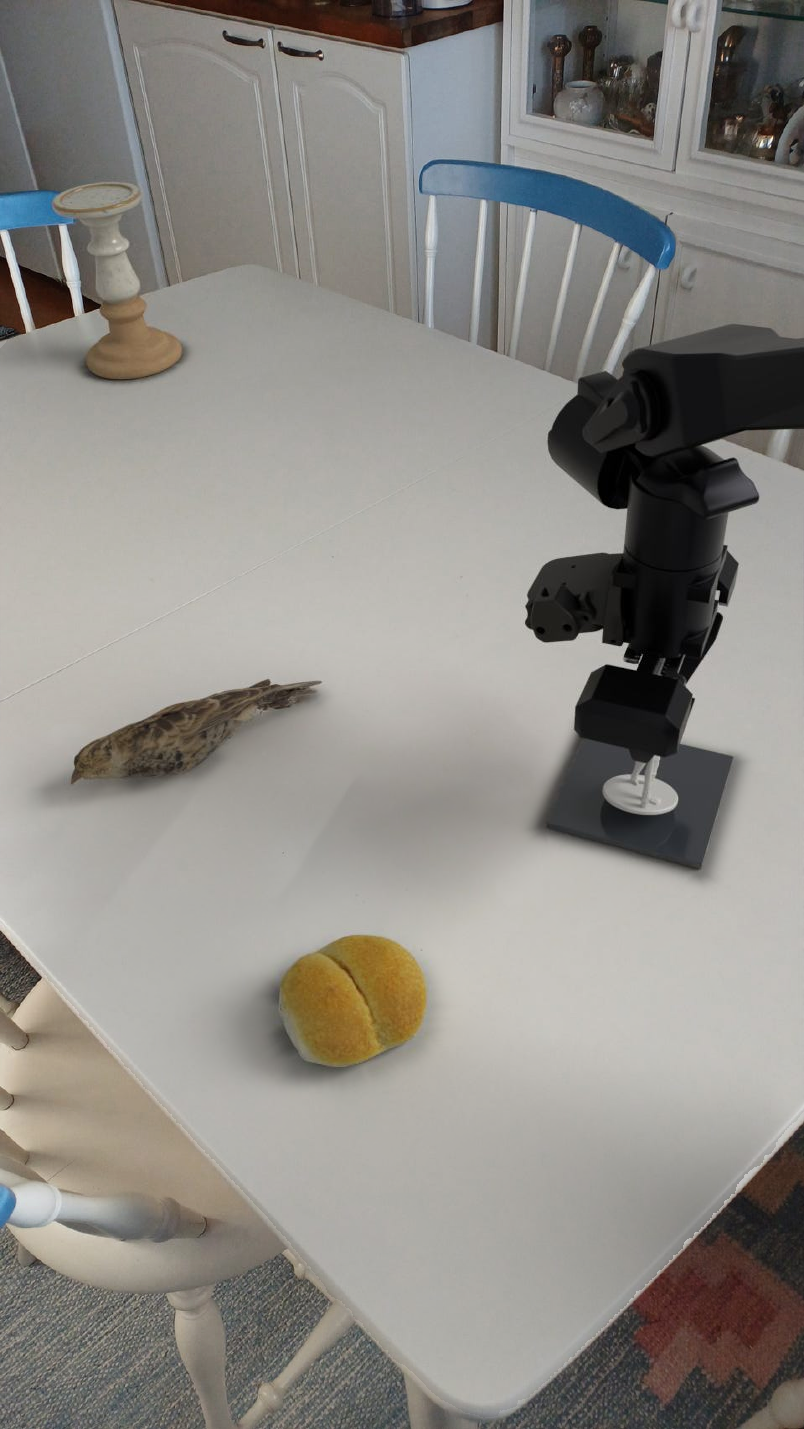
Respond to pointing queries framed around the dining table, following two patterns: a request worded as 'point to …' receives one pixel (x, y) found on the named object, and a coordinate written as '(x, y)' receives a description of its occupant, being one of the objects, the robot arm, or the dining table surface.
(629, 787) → the figurine
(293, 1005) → the bread roll
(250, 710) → the bird model
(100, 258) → the candle holder
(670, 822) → the slate tile
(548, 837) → the dining table surface
